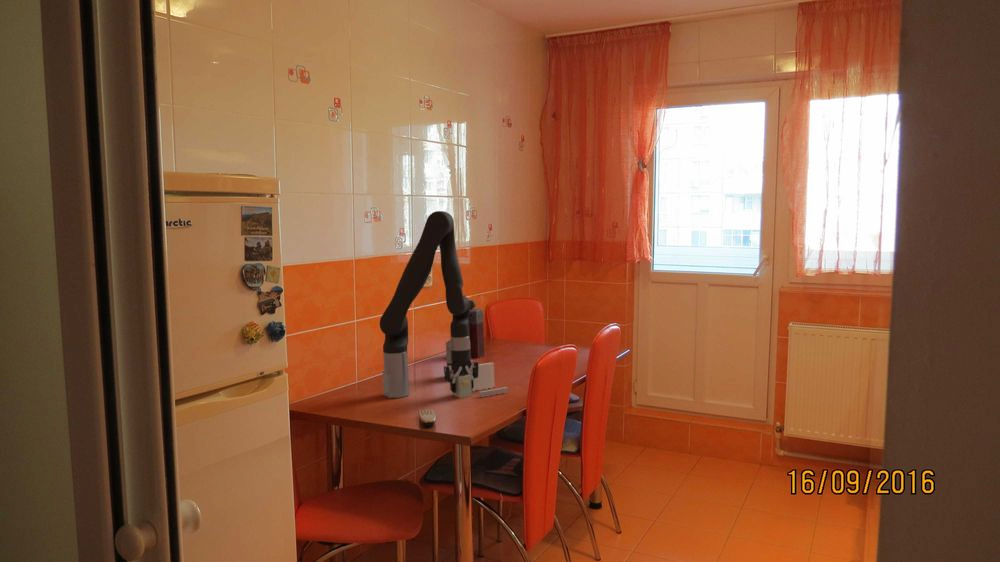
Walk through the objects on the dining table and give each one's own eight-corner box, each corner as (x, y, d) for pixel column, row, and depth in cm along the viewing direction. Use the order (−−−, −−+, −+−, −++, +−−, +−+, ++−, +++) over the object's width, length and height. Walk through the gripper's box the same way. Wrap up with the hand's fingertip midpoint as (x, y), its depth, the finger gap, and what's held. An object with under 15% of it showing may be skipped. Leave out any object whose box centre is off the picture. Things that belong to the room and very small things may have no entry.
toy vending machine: (459, 359, 336) (457, 301, 334) (467, 354, 347) (465, 298, 345) (477, 359, 334) (474, 301, 331) (484, 355, 344) (482, 298, 342)
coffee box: (461, 380, 292) (460, 342, 291) (446, 380, 294) (445, 342, 292) (467, 375, 301) (465, 338, 300) (452, 375, 302) (451, 338, 301)
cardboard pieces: (480, 397, 263) (479, 371, 262) (466, 391, 273) (465, 366, 272) (507, 392, 269) (507, 367, 268) (493, 387, 279) (492, 362, 278)
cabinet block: (461, 398, 262) (460, 377, 262) (452, 395, 269) (452, 374, 268) (472, 396, 265) (472, 375, 264) (464, 393, 271) (463, 372, 270)
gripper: (447, 351, 259) (449, 395, 260) (481, 347, 266) (483, 389, 267) (439, 348, 265) (441, 392, 267) (472, 344, 272) (474, 386, 274)
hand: (462, 390), depth 267 cm, fingers open, 6 cm apart
